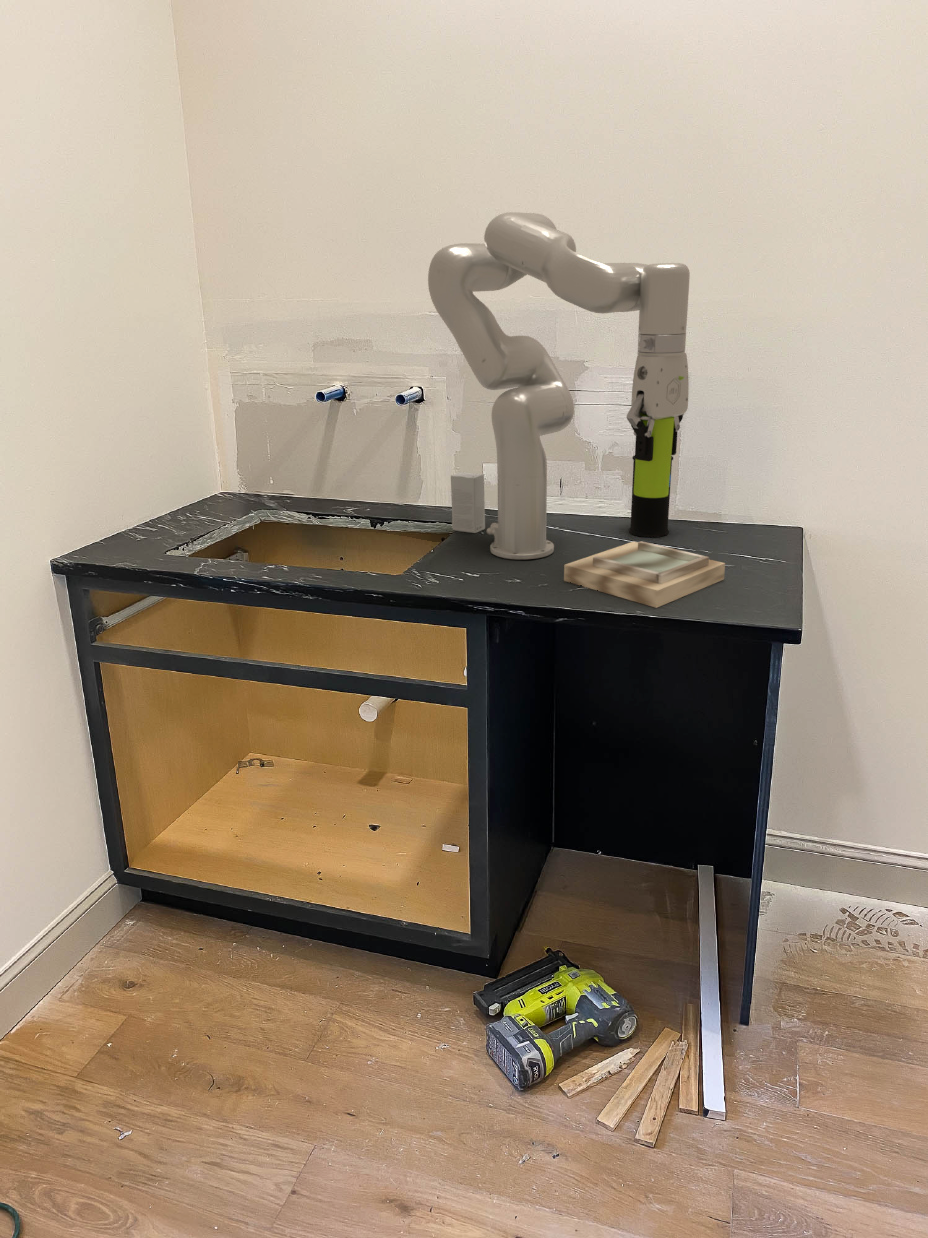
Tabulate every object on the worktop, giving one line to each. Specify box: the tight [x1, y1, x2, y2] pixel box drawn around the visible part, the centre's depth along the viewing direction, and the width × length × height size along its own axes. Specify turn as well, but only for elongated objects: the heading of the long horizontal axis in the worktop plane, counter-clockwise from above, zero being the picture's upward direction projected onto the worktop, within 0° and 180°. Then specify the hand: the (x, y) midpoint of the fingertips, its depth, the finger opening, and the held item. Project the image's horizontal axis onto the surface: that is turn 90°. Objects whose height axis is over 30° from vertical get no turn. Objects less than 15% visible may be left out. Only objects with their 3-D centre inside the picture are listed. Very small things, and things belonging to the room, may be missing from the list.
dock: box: [563, 540, 726, 609], centre depth 159 cm, size 20×20×4 cm
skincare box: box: [450, 471, 486, 534], centre depth 192 cm, size 6×4×12 cm
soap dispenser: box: [633, 376, 684, 498], centre depth 150 cm, size 6×7×20 cm
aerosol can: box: [628, 454, 674, 538], centre depth 185 cm, size 8×8×20 cm
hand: (655, 455), depth 151 cm, fingers closed on soap dispenser, 5 cm apart
